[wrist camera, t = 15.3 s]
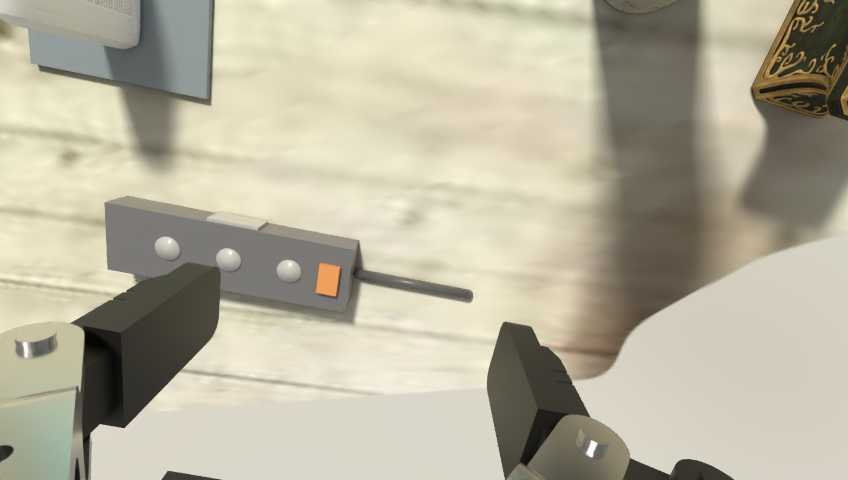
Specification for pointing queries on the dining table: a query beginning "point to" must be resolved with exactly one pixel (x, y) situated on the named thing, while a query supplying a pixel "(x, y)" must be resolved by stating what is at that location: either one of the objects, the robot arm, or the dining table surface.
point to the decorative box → (809, 61)
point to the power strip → (242, 253)
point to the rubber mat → (143, 50)
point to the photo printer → (78, 19)
